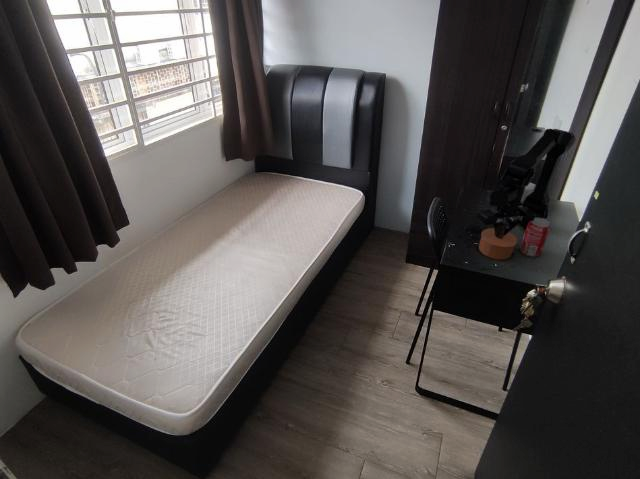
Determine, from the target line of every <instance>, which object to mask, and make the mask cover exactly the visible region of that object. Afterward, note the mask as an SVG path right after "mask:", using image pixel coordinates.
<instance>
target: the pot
mask: <svg viewBox="0 0 640 479" xmlns="http://www.w3.org/2000/svg"><path fill="white" fill-rule="evenodd" d="M514 249H515V246H513V247H509V248H503V247H497V246H494V245H491V244H489V243H487V242H486V241H485V240H484V239H483V238H482V236H481V237H480V241H479V244H478V250H479V251H480V253H482V254H483V255H484V256H485V257H487V258H490V259H493V260H502V261H503V260H508V259H509V258H511V257H512V254H513V251H514Z"/></svg>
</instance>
